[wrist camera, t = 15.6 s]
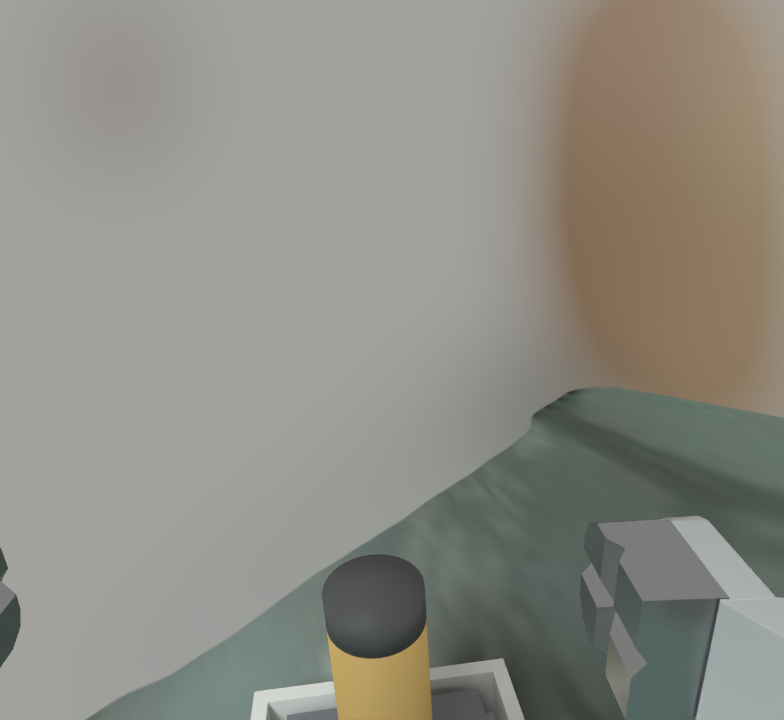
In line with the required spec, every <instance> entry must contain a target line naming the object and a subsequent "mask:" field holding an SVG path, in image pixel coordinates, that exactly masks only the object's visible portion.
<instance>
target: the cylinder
mask: <svg viewBox="0 0 784 720" xmlns="http://www.w3.org/2000/svg"><path fill="white" fill-rule="evenodd" d="M322 598H323V606H324V613H325V621H326V629H327V636H328V644H329V651H330V659H331V667H332V674H333V682H334V689H335V697H336V705H337V712H338V720H432V703H431V686H430V669H429V653H428V636H427V619H426V602H425V586H424V580H423V577H422V575H421V573H420V572H419V570H418V569H417V568H416V567H415V566H414V565H412V564H411V563H410V562H408V561H406V560H404V559H401V558H399V557H395V556H390V555H367V556H362V557H358V558H355V559H352V560H350V561H348V562H346V563H344V564H342V565H341V566H339V567H338V568H336V569H335V570H334V571H333V572H332V573H331V574H330V575H329V577H328V578H327V580H326V582H325V584H324V587H323V591H322Z"/></svg>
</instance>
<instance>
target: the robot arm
mask: <svg viewBox="0 0 784 720" xmlns="http://www.w3.org/2000/svg"><path fill="white" fill-rule="evenodd" d="M584 548H585V550H586V552H587V554H588V556H589V558H590V560H591V562H592V563H591V564H590V565H589V566H588V568H587V569H586V570H585V571H584V572H583V573H582V576H581V592H580V596H581V605H582V614H583V618H584V622H585V625H586V629H587V632H588V634H589V637H590V639H591V642H592V644H593V646H594V647H595V648H597V649H598V650H599V651H601V652H602V653H603V654H605V655H606V656H607V662H606V671H605V675H606V677H607V679H608V682H609V684H610V686H611V688H612V691H613V693H614V695H615V698H616V700H617V702H618V705H619V707H620V709H621V711H622V714H623V716H624V718H625V720H784V598H776V597H775V595H774V594H773V593H772V592H771V591H770V590H769V589H768V588H767V586H766V585H765V584H764V583H763V582H762V581H761V580H760V579H759V577H758V576H757V575H756V574H755V573H754V572H753V571H752V570H751V568H750V567H749V566H748V565H747V564H746V563H745V562H744V561H743V559H742V558H741V557H740V556H739V555H738V554H737V553H736V552H735V550H734V549H733V548H732V547H731V546H730V545H729V544H728V543H727V541H726V540H725V539H724V538H723V537H722V536H721V535H720V534H719V532H718V531H717V530H716V529H715V528H714V527H713V526H712V525H711V523H710V522H709V521H708V520H706V519H704V518H702V517H700V516H687V517H672V518H662V519H656V520H634V521H612V522H590V523H589V526H588V528H587V531H586V537H585V545H584ZM7 569H8V567H7V564H6V561H5V559H4V556H3V553H2V550H1V548H0V667H1V666H2V664H3V663H4V661H5V660H6V658H7V657H8V656H9V654H10V653H11V651H12V650H13V647H14V644H15V641H16V638H17V635H18V632H19V629H20V606H19V603H18V599H17V596H16V594H15V593H14V592H13V591H11V590H10V589H9V588H8V587H6V586H5V585H4V584H3V583H2V582H1V581H2V579H3V577H4V575H5V573H6V571H7Z"/></svg>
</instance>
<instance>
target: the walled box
mask: <svg viewBox="0 0 784 720" xmlns="http://www.w3.org/2000/svg"><path fill="white" fill-rule="evenodd" d="M429 669H430V686H431V703H432V720H525V719H524V716H523V714H522V711H521V708H520V705H519V702H518V699H517V696H516V694H515V691H514V688H513V685H512V682H511V679H510V677H509V674H508V671H507V668H506V665H505V662H504V659H503V658H501V659H494V660H487V661H479V662H472V663H464V664H457V665H449V666H442V667H435V668H429ZM251 720H338V712H337V705H336V697H335V689H334V682H333V681H331V682H324V683H316V684H309V685H301V686H294V687H287V688H279V689H272V690H264V691H257V692H254V699H253V706H252V713H251Z"/></svg>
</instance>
